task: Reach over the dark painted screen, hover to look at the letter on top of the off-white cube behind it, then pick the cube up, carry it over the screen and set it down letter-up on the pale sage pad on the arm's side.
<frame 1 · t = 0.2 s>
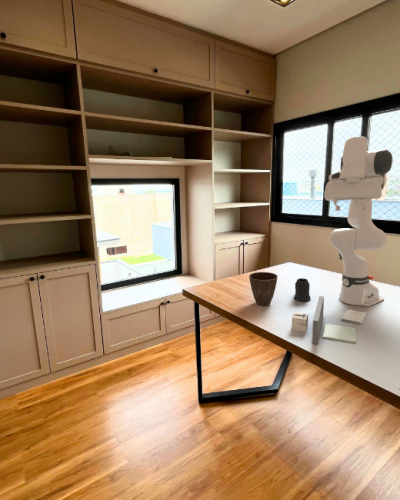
hand: (350, 210, 114), 52 cm above the table, tool tilted 20°, fingers open, 8 cm apart
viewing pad: (339, 333, 122), on the table
plant pot: (263, 304, 159), on the table
screen: (318, 328, 128), on the table
external hard drive: (354, 318, 136), on the table
mug: (301, 298, 163), on the table
letter cube: (299, 328, 130), on the table
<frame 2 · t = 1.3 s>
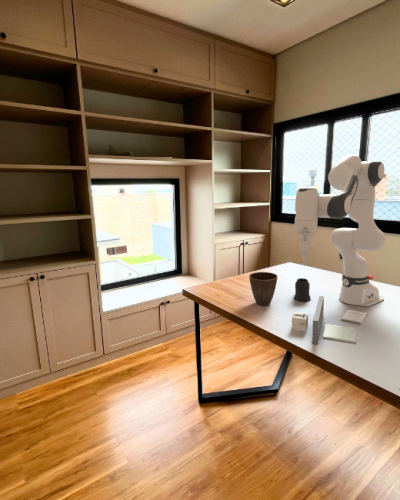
hand: (304, 259, 122), 32 cm above the table, tool pointing down, fingers open, 8 cm apart
nothing on the table moved.
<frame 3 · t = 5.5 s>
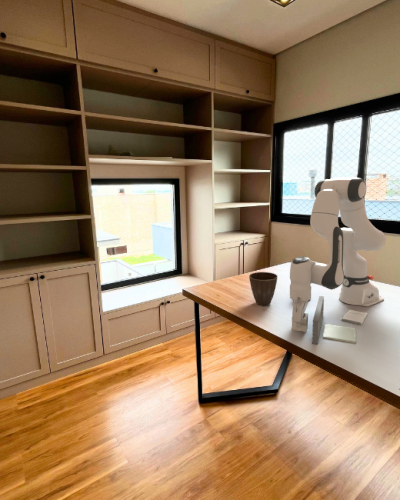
hand: (300, 323, 129), 2 cm above the table, tool pointing down, fingers closed on letter cube, 6 cm apart
letter cube: (299, 327, 130), on the table, touching gripper
everything else where it was.
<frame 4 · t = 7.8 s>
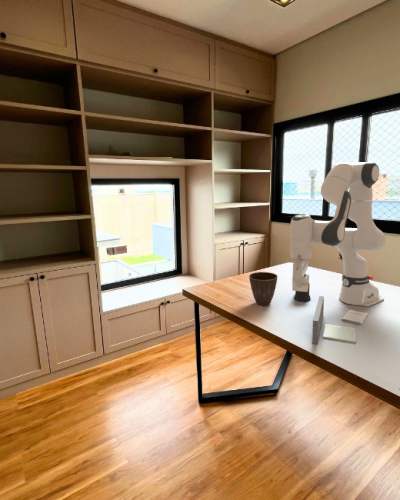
hand: (300, 284, 126), 20 cm above the table, tool pointing down, fingers closed on letter cube, 6 cm apart
letter cube: (300, 288, 126), point 18 cm above the table, touching gripper
everything else where it was.
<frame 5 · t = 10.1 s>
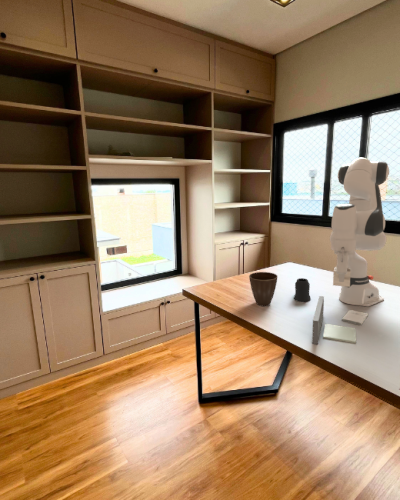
hand: (341, 278, 117), 24 cm above the table, tool pointing down, fingers closed on letter cube, 6 cm apart
letter cube: (341, 283, 118), point 22 cm above the table, touching gripper
everything else where it was.
when the fingers open (4 cm above the table, at t = 13.3 s): letter cube drops 1 cm, resting on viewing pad.
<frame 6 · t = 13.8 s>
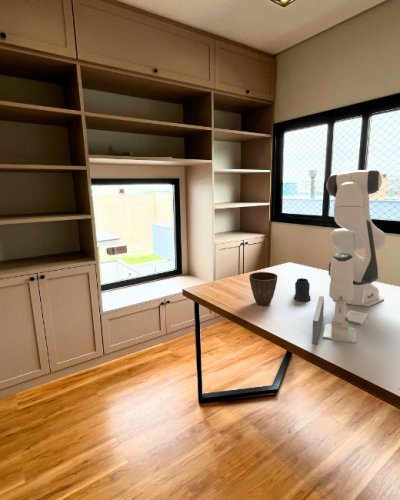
hand: (339, 324, 121), 4 cm above the table, tool pointing down, fingers open, 8 cm apart
letter cube: (339, 332, 122), point 1 cm above the table, touching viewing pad
everything else where it was.
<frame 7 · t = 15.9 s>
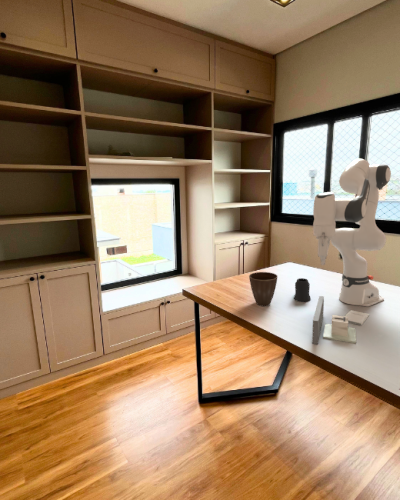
hand: (323, 261, 128), 29 cm above the table, tool pointing down, fingers open, 8 cm apart
nothing on the table moved.
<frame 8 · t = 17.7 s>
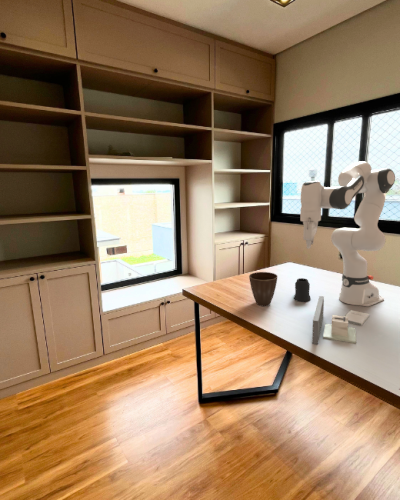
hand: (310, 246, 136), 34 cm above the table, tool pointing down, fingers open, 8 cm apart
nothing on the table moved.
at the end: letter cube inside the target area on the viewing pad (0.1 cm from its centre), point 0.8 cm above the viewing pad's base; letter cube tilted 0°; the gripper is holding nothing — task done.
